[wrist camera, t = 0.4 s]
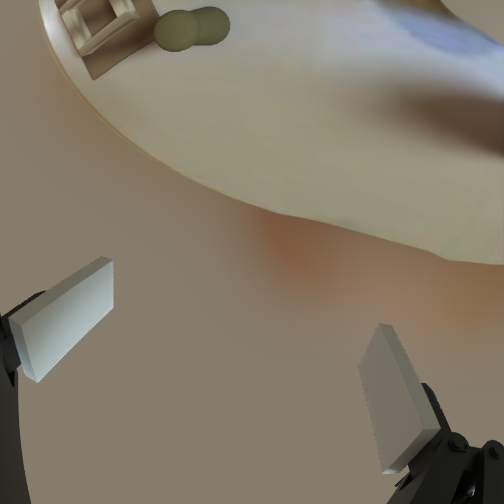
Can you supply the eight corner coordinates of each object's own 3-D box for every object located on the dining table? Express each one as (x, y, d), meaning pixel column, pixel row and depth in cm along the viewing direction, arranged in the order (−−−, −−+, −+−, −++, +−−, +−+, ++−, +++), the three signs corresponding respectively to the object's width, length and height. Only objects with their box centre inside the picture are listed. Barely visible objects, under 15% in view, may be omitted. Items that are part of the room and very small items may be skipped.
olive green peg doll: (190, 47, 33) (148, 61, 26) (186, 10, 29) (141, 13, 22) (231, 43, 32) (198, 53, 25) (228, 4, 28) (192, 1, 20)
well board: (57, -1, 27) (43, 1, 24) (121, -58, 20) (106, -59, 17) (96, 78, 39) (83, 85, 36) (167, 32, 32) (154, 35, 29)
